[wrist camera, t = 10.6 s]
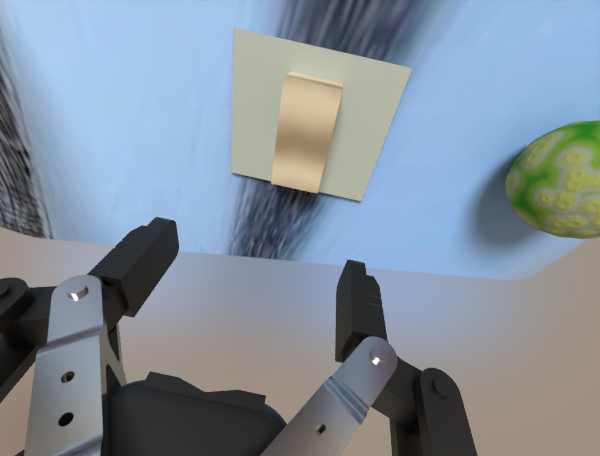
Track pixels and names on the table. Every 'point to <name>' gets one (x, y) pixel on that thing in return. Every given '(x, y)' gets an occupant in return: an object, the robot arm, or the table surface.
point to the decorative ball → (559, 182)
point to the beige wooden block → (304, 130)
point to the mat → (350, 117)
